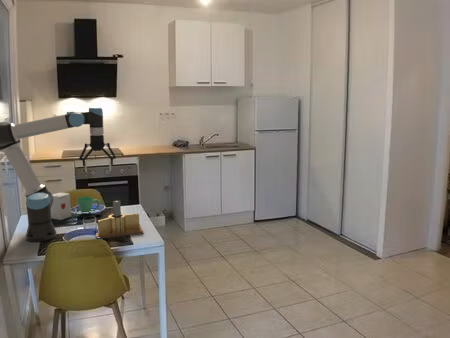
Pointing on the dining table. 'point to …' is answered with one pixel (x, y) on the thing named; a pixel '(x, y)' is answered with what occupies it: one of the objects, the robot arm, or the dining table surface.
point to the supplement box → (61, 206)
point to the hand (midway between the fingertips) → (98, 171)
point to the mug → (86, 203)
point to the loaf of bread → (119, 226)
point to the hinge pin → (116, 209)
